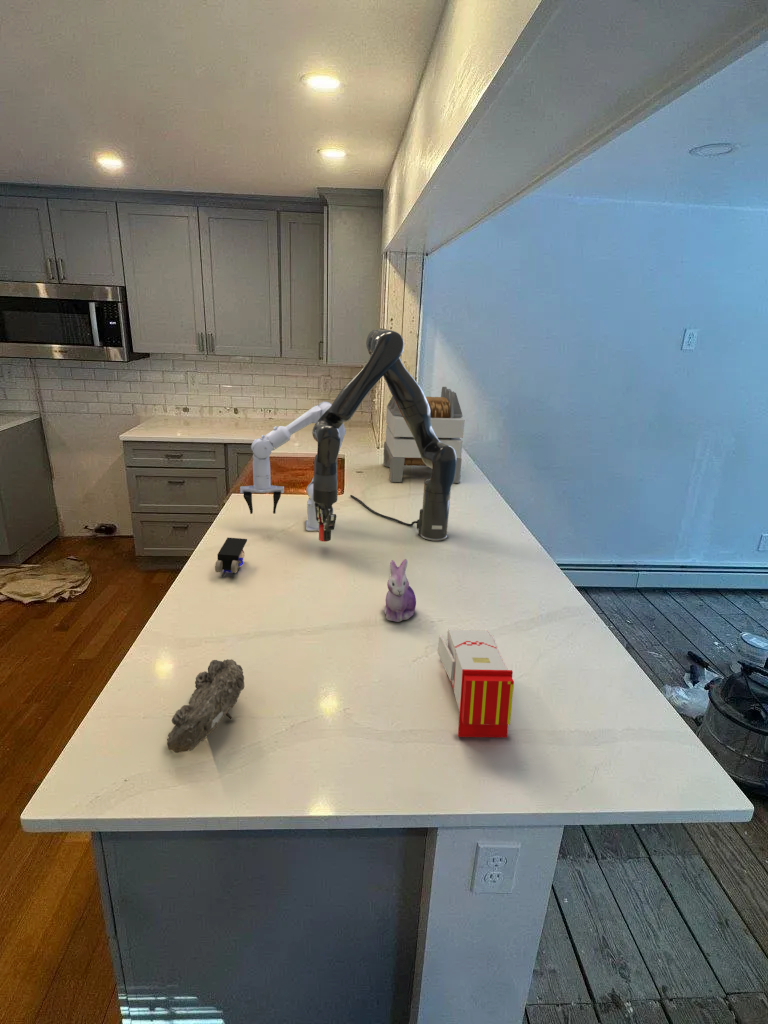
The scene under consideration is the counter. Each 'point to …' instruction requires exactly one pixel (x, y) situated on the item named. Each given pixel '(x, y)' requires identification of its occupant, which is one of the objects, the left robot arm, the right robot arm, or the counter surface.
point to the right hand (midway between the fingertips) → (324, 537)
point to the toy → (478, 682)
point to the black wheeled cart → (230, 556)
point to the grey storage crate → (402, 442)
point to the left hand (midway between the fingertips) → (263, 512)
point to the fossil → (206, 705)
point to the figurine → (399, 594)
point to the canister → (321, 533)
